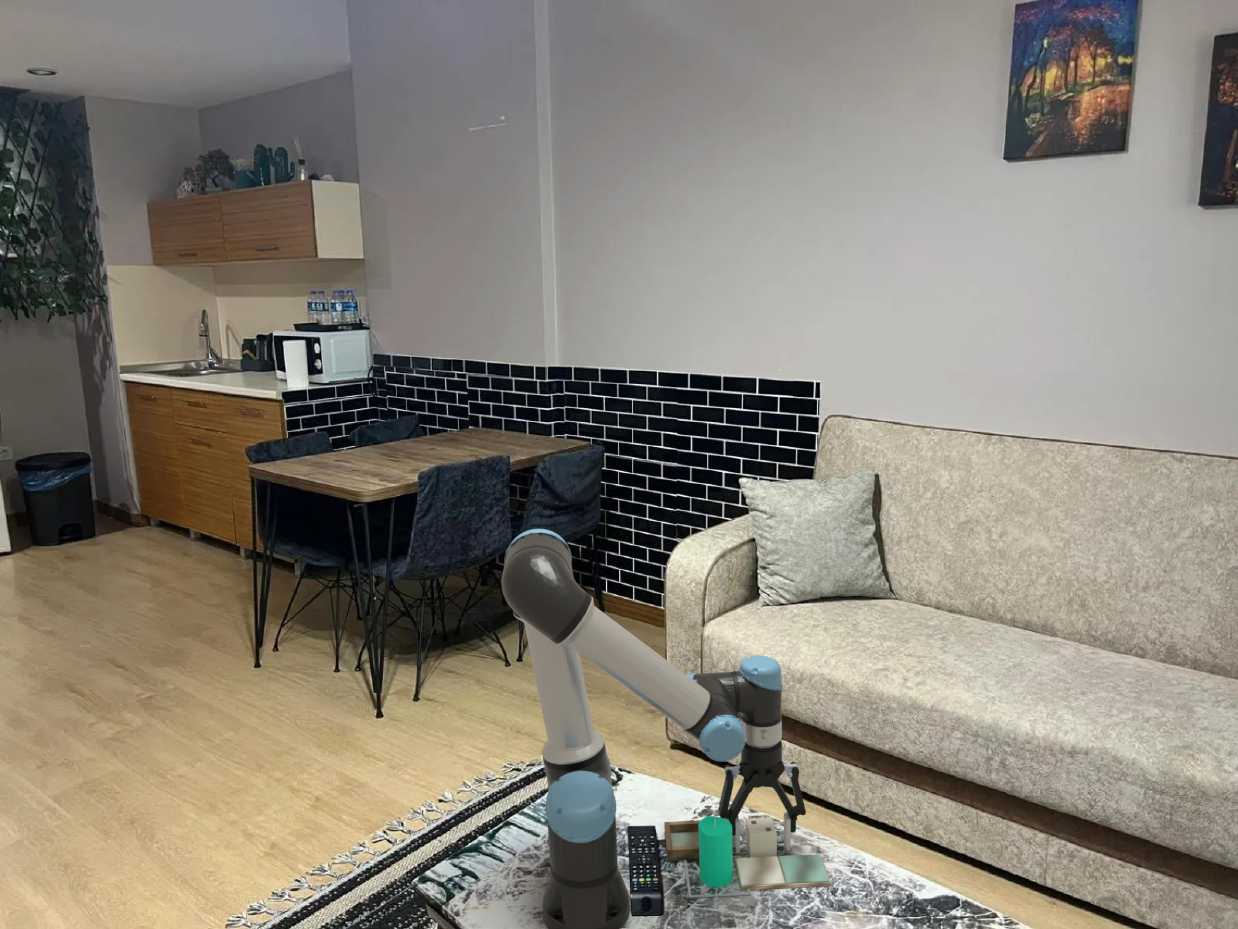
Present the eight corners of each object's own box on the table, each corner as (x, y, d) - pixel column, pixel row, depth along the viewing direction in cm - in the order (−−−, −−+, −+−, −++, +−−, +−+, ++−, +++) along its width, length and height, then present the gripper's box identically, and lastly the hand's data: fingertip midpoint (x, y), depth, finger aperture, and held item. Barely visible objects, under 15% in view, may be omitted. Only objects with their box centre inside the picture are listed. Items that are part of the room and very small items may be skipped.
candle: (693, 872, 169) (692, 814, 166) (721, 862, 171) (720, 804, 169) (710, 891, 163) (709, 831, 161) (739, 881, 166) (738, 821, 163)
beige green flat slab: (741, 890, 163) (741, 885, 163) (735, 862, 171) (734, 857, 171) (830, 886, 163) (831, 881, 163) (820, 858, 171) (820, 853, 171)
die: (750, 858, 172) (749, 834, 171) (746, 842, 177) (745, 818, 176) (776, 857, 172) (776, 833, 171) (772, 841, 177) (771, 817, 176)
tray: (667, 861, 172) (667, 850, 171) (664, 833, 181) (664, 822, 180) (720, 859, 172) (720, 847, 172) (715, 830, 181) (715, 819, 180)
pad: (688, 898, 162) (688, 897, 162) (683, 859, 172) (683, 858, 172) (751, 895, 162) (751, 894, 162) (741, 856, 173) (741, 855, 173)
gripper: (705, 752, 166) (707, 862, 171) (824, 746, 166) (823, 857, 171) (701, 731, 173) (703, 838, 178) (814, 726, 174) (814, 833, 178)
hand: (762, 847), depth 174 cm, fingers open, 9 cm apart
